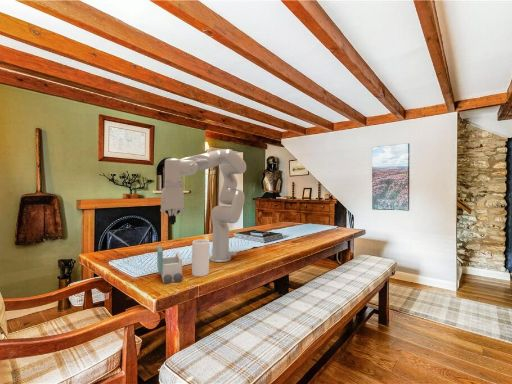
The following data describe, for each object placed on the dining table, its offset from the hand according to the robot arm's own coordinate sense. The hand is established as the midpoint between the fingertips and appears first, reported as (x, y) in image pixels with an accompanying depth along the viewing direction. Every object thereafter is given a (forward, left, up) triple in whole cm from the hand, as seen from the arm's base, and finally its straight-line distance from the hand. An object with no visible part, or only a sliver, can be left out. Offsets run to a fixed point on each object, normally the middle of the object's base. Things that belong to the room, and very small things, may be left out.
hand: (172, 224), depth 119 cm
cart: (0, 0, -25) cm, 25 cm away
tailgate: (+5, 0, -21) cm, 22 cm away
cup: (-14, 0, -25) cm, 29 cm away
